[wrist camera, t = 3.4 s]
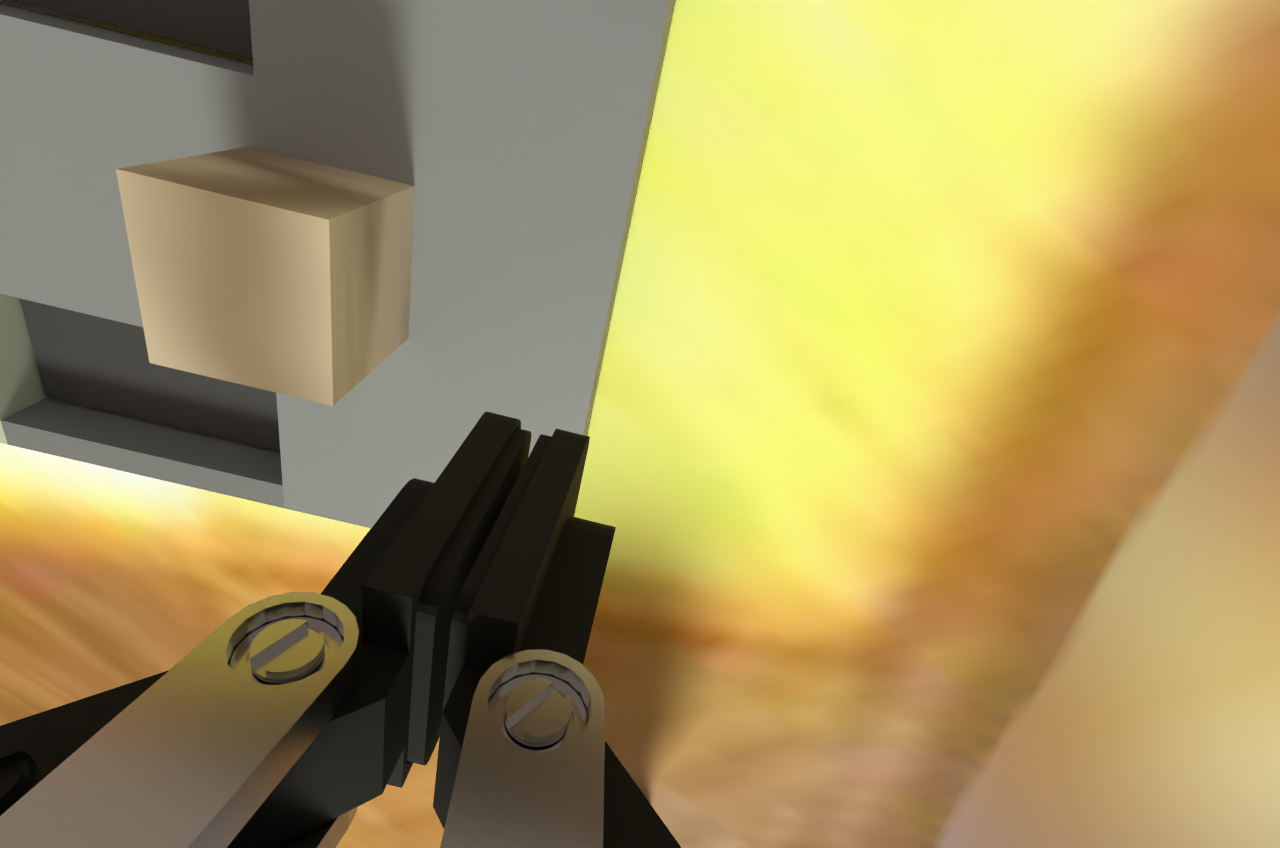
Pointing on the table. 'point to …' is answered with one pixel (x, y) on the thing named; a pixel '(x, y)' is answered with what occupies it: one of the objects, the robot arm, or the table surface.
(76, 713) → the robot arm
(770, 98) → the table surface
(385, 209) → the maple cube
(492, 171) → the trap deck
